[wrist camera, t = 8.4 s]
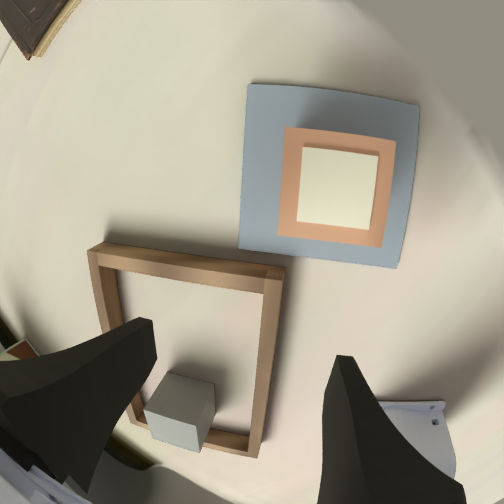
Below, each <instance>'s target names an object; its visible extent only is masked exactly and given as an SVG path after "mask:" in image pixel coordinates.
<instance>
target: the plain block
mask: <svg viewBox="0 0 504 504" xmlns="http://www.w3.org/2000/svg"><path fill="white" fill-rule="evenodd" d="M143 410H144V414H145V417H146V420H147V423H148V426H149V429H150V432H151V435H152V438H153V439H156V440H159V441H162V442H165V443H168V444H171V445H174V446H177V447H180V448H184V449H187V450H190V451H194V452H197V453H200V451H201V449H202V446H203V444H204V441H205V439H206V436H207V434H208V431H209V429H210V426H211V424H212V421H213V419H214V416H215V384H213V383H209V382H204V381H200V380H196V379H192V378H188V377H184V376H181V375H177V374H173V373H170V372H167V373H166V374H165V376H164V378H163V379H162V381H161V382H160V384H159V385H158V387H157V389H156V390H155V392H154V393H153V395H152V396H151V398H150V400H149V401H148V403H147V404H146V406H145V407H144V409H143Z"/></svg>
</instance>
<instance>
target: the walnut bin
mask: <svg viewBox="0 0 504 504" xmlns="http://www.w3.org/2000/svg"><path fill="white" fill-rule="evenodd" d="M87 255H88V262H89V269H90V275H91V281H92V287H93V292H94V297H95V302H96V307H97V312H98V316H99V321H100V325H101V329H102V333H103V334H104V333H106V332H108V331H110V330H112V329H114V328H116V327H118V326H121V325H123V324H124V322H123V316H122V311H121V305H120V299H119V292H118V286H117V279H116V271H115V269H120V270H125V271H130V272H135V273H140V274H146V275H151V276H157V277H162V278H168V279H173V280H179V281H185V282H191V283H197V284H203V285H209V286H215V287H221V288H228V289H234V290H241V291H247V292H254V293H261V294H264V295H263V306H262V317H261V328H260V338H259V349H258V359H257V370H256V380H255V390H254V399H253V409H252V419H251V428H250V437H249V436H244V435H239V434H234V433H229V432H225V431H220V430H216V429H212V428H210V429H209V431H208V434H207V436H206V439H205V441H204V444H203V447H206V448H210V449H214V450H218V451H223V452H227V453H232V454H237V455H241V456H247V457H252V458H258V454H259V449H260V445H261V440H262V434H263V428H264V422H265V416H266V410H267V403H268V397H269V390H270V383H271V377H272V370H273V363H274V356H275V348H276V341H277V333H278V326H279V318H280V310H281V302H282V294H283V285H284V277H285V268H286V267H278V266H271V265H263V264H256V263H248V262H241V261H233V260H226V259H218V258H211V257H204V256H197V255H189V254H182V253H175V252H168V251H161V250H154V249H147V248H140V247H133V246H126V245H119V244H113V243H106V242H102V243H100V244H98V245H96V246H94V247H93V248H91V249H89V250H87ZM143 409H144V405H143V402H142V398H141V395H140V391H138V392H137V394H136V395H135V397H134V398H133V400H132V401H131V402H130V404H129V405H128V407H127V408H126V412H127V414H128V417H129V420H130V422H131V423H132V424H135V425H137V426H140V427H143V428H145V429H148V430H150V429H149V426H148V423H147V420H146V417H145V414H144V410H143Z"/></svg>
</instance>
